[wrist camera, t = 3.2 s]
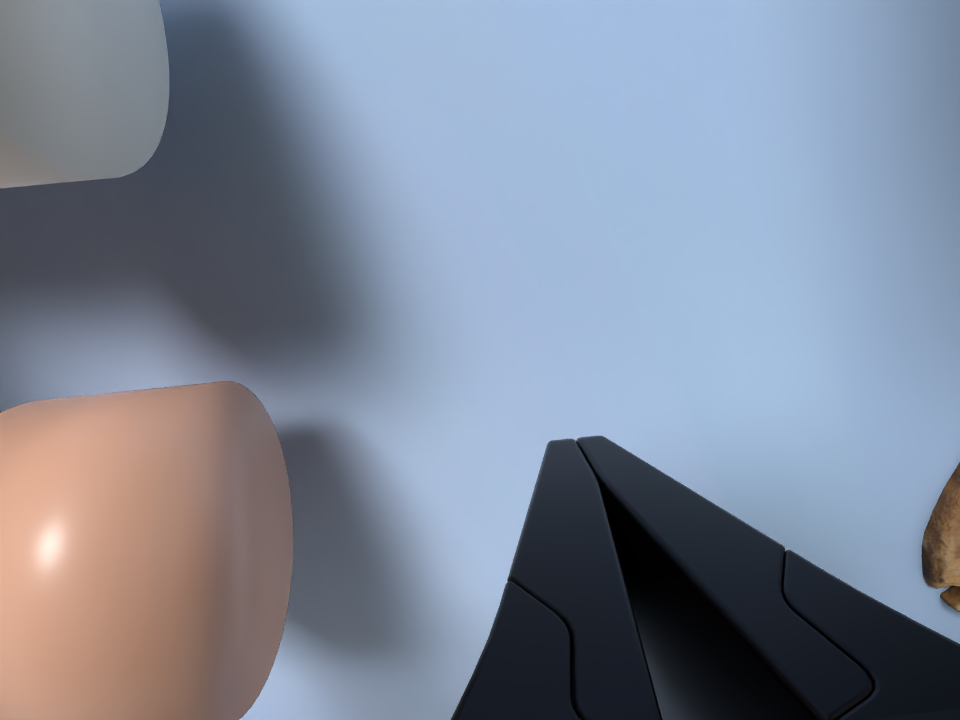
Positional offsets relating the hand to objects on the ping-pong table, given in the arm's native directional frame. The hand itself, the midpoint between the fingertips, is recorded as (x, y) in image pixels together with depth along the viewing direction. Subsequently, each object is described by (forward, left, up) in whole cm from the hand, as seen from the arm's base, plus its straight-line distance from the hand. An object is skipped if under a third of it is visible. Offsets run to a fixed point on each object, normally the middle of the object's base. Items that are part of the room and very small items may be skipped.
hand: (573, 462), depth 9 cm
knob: (+8, 0, -1) cm, 8 cm away
